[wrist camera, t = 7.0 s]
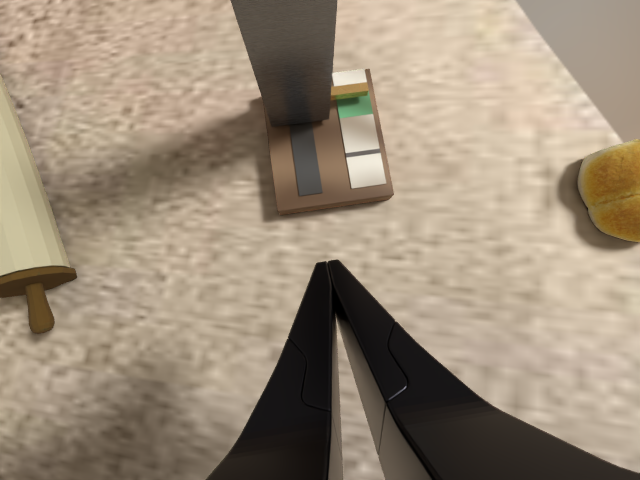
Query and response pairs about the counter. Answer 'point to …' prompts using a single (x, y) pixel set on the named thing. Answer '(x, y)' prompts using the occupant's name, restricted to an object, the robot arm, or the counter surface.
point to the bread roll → (613, 189)
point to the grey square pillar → (293, 57)
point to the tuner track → (332, 155)
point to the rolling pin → (26, 225)
